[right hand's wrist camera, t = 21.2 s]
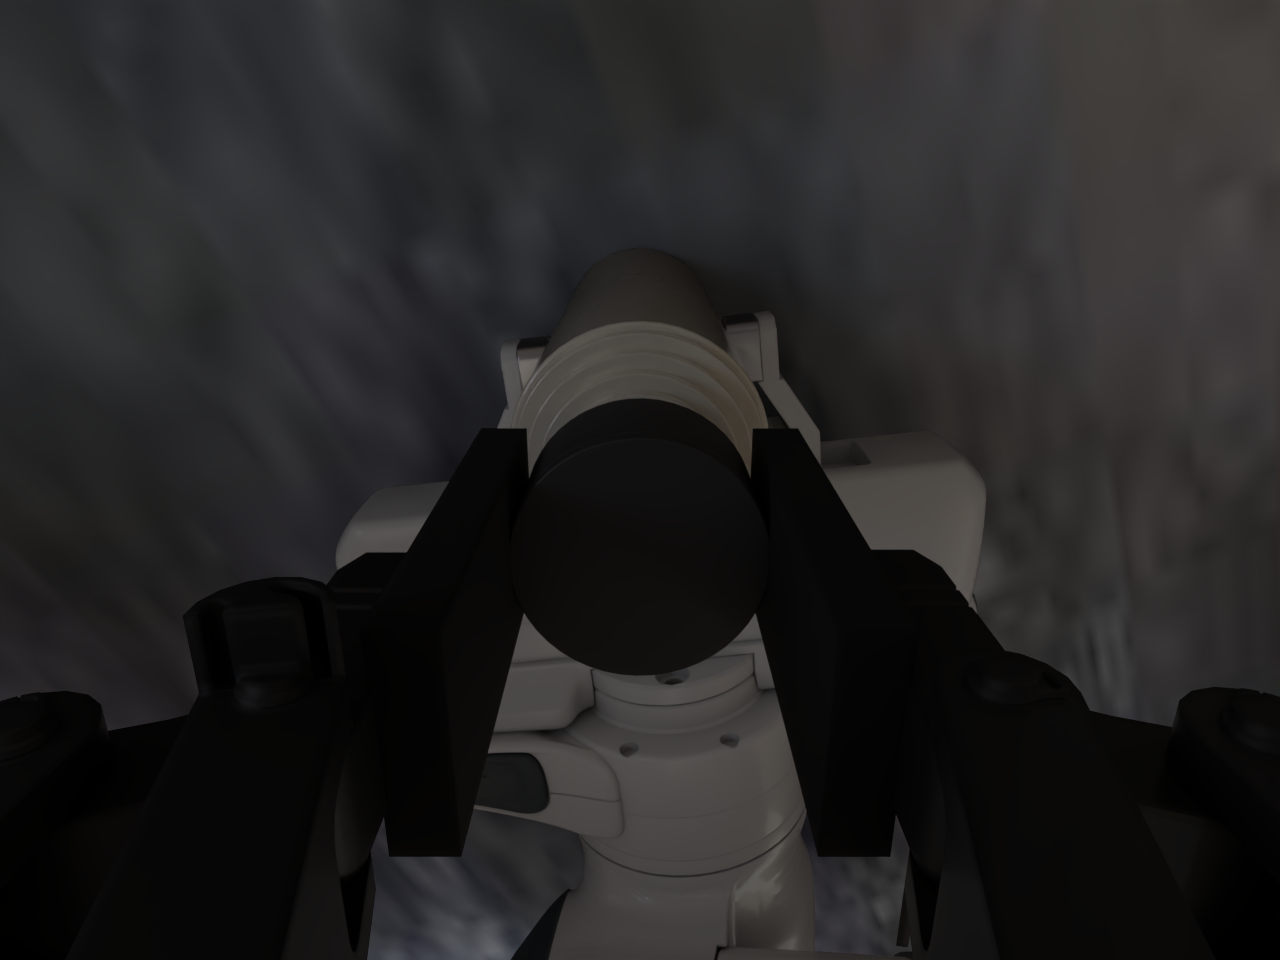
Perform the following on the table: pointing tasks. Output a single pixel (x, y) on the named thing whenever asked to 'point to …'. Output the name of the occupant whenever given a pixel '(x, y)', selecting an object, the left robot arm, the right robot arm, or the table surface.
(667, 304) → the ridged cream cylinder
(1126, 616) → the table surface
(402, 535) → the left robot arm
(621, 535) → the cap
